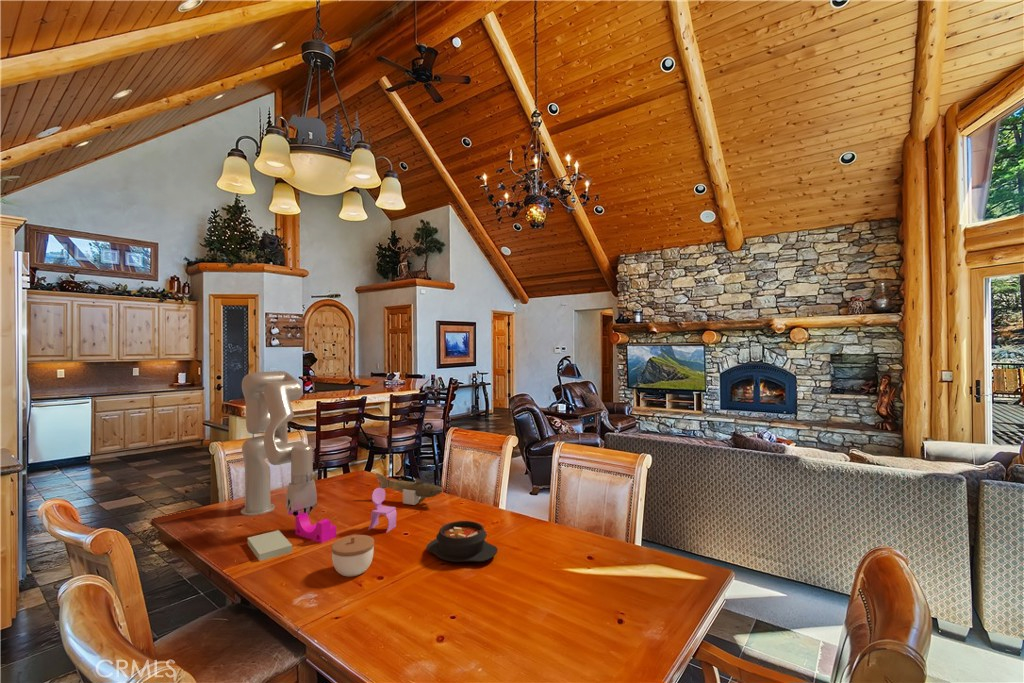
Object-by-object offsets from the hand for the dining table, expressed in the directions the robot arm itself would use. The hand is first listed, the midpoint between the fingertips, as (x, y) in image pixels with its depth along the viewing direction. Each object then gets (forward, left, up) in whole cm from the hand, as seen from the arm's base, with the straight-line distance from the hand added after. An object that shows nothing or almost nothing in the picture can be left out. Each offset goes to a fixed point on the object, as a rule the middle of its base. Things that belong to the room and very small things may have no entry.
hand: (302, 526), depth 173 cm
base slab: (+6, -15, -2) cm, 16 cm away
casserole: (+62, +22, -2) cm, 66 cm away
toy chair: (+23, +20, -2) cm, 30 cm away
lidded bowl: (+43, -7, -2) cm, 44 cm away
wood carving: (+8, +45, -2) cm, 46 cm away
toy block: (+9, +1, -2) cm, 9 cm away
